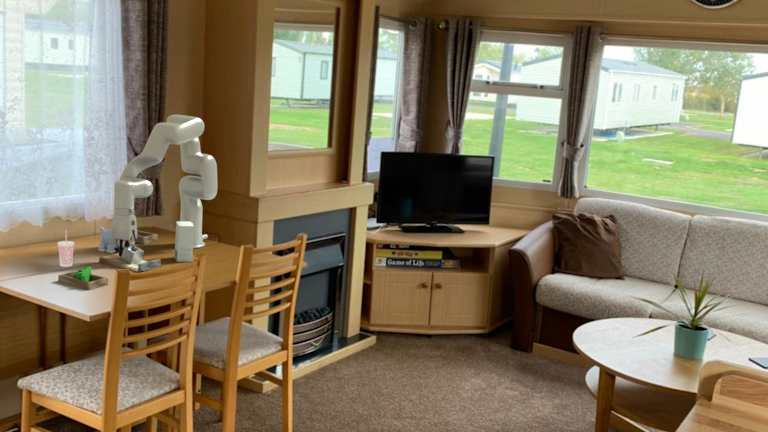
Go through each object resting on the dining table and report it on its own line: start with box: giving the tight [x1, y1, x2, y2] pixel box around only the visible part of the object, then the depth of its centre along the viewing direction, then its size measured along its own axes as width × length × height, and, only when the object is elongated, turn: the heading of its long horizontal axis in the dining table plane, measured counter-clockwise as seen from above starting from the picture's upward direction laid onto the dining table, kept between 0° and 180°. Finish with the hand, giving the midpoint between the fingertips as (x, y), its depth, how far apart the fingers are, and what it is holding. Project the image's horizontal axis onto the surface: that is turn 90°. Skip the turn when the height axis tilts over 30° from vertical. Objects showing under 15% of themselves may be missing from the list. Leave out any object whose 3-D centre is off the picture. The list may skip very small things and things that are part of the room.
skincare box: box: [173, 220, 194, 263], centre depth 317 cm, size 8×7×16 cm
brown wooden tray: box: [57, 269, 109, 291], centre depth 276 cm, size 8×16×2 cm, turn 64°
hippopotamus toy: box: [97, 225, 132, 254], centre depth 325 cm, size 11×15×10 cm
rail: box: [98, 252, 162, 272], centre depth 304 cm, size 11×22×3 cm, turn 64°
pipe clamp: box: [75, 266, 92, 285], centre depth 275 cm, size 11×4×5 cm, turn 10°
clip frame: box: [134, 229, 159, 245], centre depth 346 cm, size 8×16×3 cm, turn 64°
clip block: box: [121, 244, 145, 264], centre depth 303 cm, size 6×6×6 cm
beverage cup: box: [57, 229, 76, 268], centre depth 296 cm, size 6×6×14 cm
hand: (123, 256), depth 306 cm, fingers closed
